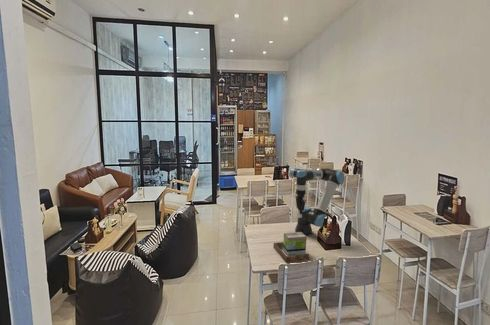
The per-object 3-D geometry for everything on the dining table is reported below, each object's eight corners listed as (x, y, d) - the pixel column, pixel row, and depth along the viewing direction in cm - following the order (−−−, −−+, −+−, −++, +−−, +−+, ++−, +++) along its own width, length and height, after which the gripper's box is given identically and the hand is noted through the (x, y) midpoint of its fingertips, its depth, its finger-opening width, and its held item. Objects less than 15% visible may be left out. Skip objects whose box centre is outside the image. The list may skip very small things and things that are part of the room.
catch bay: (294, 245, 235) (294, 240, 235) (309, 259, 212) (309, 254, 211) (273, 247, 230) (273, 242, 230) (285, 262, 207) (285, 257, 206)
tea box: (287, 256, 216) (288, 238, 214) (282, 250, 226) (283, 232, 223) (305, 254, 220) (307, 236, 217) (300, 248, 229) (301, 231, 227)
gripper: (292, 187, 235) (291, 215, 239) (301, 191, 223) (300, 220, 227) (300, 187, 238) (299, 214, 242) (309, 191, 225) (308, 219, 230)
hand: (299, 217), depth 234 cm, fingers closed
